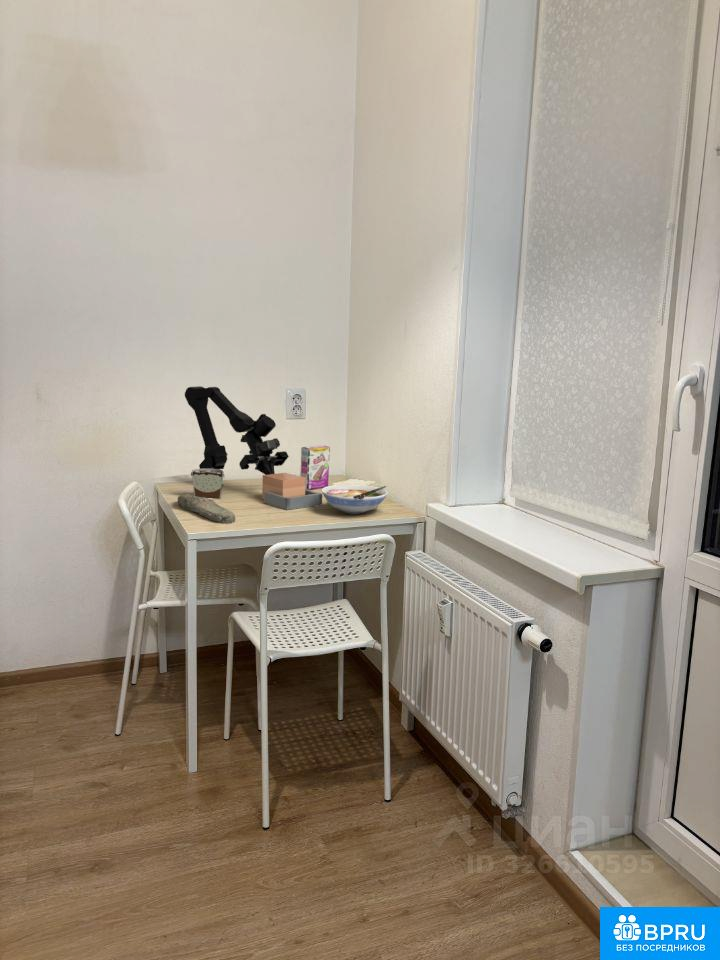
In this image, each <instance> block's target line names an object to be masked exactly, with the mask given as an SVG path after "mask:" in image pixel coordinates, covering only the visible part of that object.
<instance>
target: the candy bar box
mask: <svg viewBox="0 0 720 960" xmlns="http://www.w3.org/2000/svg"><path fill="white" fill-rule="evenodd" d="M330 451H331V447H330V446H327V445H311V446H310V445H309V446H302V447H301V451H300V452H301V453H300V454H301V455H300V475H299V476H301V477H305V478H306V480H305V489H306V490H310V491H312V490H318V489H323V488H324V487H328V486H329V473H330V472H329V471H330Z"/></svg>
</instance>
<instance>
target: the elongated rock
mask: <svg viewBox="0 0 720 960" xmlns="http://www.w3.org/2000/svg"><path fill="white" fill-rule="evenodd" d="M177 503H178V504H180V505H181V507H182V508H184V509H187V510H186V511H189V510H190V511H189V512H193V513H194V512H195V513H196V512H197V514H199V516H201V515H202V516H203V517H205V518H207V519H208V518H209V519H208V520H210V519H211V520H210V521H212V520H213V521H212V522H217V523H220V522H221V524H232V522H233V523H235V522H236V515H235V513H234V512H233V511H231V510H228V508H225V507H223V506H220V505H219V504H217V502H215V501H214V499H208V498H205V497H197V496H194V494H190V493H184V494H181V495H179V496H177Z"/></svg>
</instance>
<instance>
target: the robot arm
mask: <svg viewBox="0 0 720 960" xmlns="http://www.w3.org/2000/svg"><path fill="white" fill-rule="evenodd" d="M184 397H185V400H186V402H187V404H188V406H190V407H191V409H192V410H193V411H194V414H195V418H196V420H197V424H198V427H199V431H200V433H201V437H202V440H203V443H204V450H203V457H204V459H203V460H202V461H201V462H200V463H199V465H198V467H199V469H219V470H223V469H225V465H226V463H227V461H228V453H227V450H226V446H225V444H224V445H221V444H219V441H218V439H217V436H216V433H215V430H214V427H213V423H212V420H211V416H210V414H209V410H208V404H209V399H210V400H211V401H212V402H213V403H214V404H215V406H216V407H218V408H219V409H220V411H221V412H222V413H223V414H224V415H225V416H226V417H227V419H228V421H229V424H230V426H231V427H232V430H234V432H235V433H239V434H240V433H241V437H240V442H241V443H246V444H247V446H248V448H249V451H248V454H244V456H243V457H242V458H241V459H240V461H239V467H240V469H241V471H242V470H248V469H250V465H255V467H254V470H255V471H258V472H260V473H262V475H269V474H276V473H275V467H280V466H282V465H284V464H285V462H286V461H287V459H288V458H289V457H290V456H289V455H288V453H287V451H276V453H275V454H274V455H272V454H273V453H274V452H273V451H274V450H278V448H279V447H280V446H281V444H280V440H279V439H278V438H277V437H276V438H273V439H267V440H263V438H266V437H267V436H268V435H269V434H270V433H271V432H272V430H274V429H275V428H276V426H277V424H276V421H275V420H274V419H272V418H271V417H269V416H267V414H266V413H262V414H260V415H259V417H258V418H257V419H256V420H254V419H253V417H251V416H250V415H248V414H247V413H246V412H243V411H241V410H239V409H238V408H237V407H236V405H234V403H232V401H230V399H229V398H227V396H226V395H225V394H223V392H222V391H221V389H220V388H219V387H218V386H209V387H203V386H200V385H198V386H189V387H187V388H186V390H185V392H184ZM245 432H246V433H245ZM242 433H244V434H242ZM262 437H263V438H262ZM223 486H224V484H223V483H222V487H223Z"/></svg>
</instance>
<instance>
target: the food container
mask: <svg viewBox="0 0 720 960" xmlns="http://www.w3.org/2000/svg"><path fill="white" fill-rule="evenodd" d="M190 477H192V486H193V496H197V497H205V498H213V499H212V500H221V499H222V492H223V491H222V487H223V486H222V484H223V479H224V478H225V477H226V476H225V473H224V470H223V469H200V468H197V469H196V468H195V469H192V470H191V472H190ZM220 498H221V499H220Z"/></svg>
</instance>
